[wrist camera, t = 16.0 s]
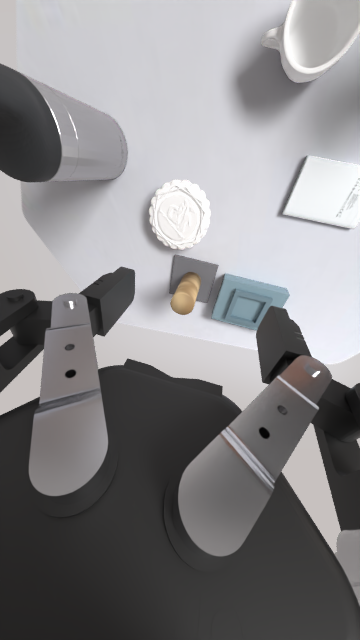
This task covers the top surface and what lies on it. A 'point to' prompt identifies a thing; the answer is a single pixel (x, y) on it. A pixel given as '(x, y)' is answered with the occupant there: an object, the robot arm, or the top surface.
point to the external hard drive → (326, 193)
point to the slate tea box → (246, 301)
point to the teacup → (314, 36)
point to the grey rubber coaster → (196, 266)
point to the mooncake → (179, 214)
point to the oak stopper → (186, 293)
